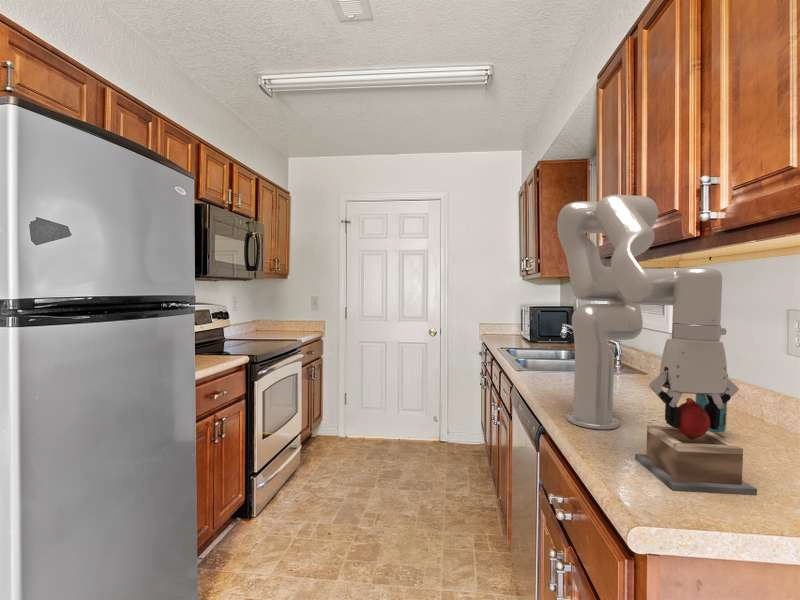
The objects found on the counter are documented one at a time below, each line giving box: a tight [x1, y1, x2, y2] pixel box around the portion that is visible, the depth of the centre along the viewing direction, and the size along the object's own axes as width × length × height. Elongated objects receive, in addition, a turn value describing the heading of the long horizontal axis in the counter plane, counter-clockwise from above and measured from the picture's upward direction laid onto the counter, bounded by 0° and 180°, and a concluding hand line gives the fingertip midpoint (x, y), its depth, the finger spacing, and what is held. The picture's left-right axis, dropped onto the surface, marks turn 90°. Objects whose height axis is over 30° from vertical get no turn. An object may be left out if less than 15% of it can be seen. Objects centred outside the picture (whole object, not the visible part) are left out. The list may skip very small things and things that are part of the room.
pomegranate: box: [677, 397, 710, 440], centre depth 81 cm, size 6×6×8 cm
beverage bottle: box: [694, 373, 729, 434], centre depth 104 cm, size 6×7×20 cm
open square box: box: [634, 425, 758, 496], centre depth 81 cm, size 14×14×8 cm
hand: (691, 425), depth 81 cm, fingers open, 6 cm apart
